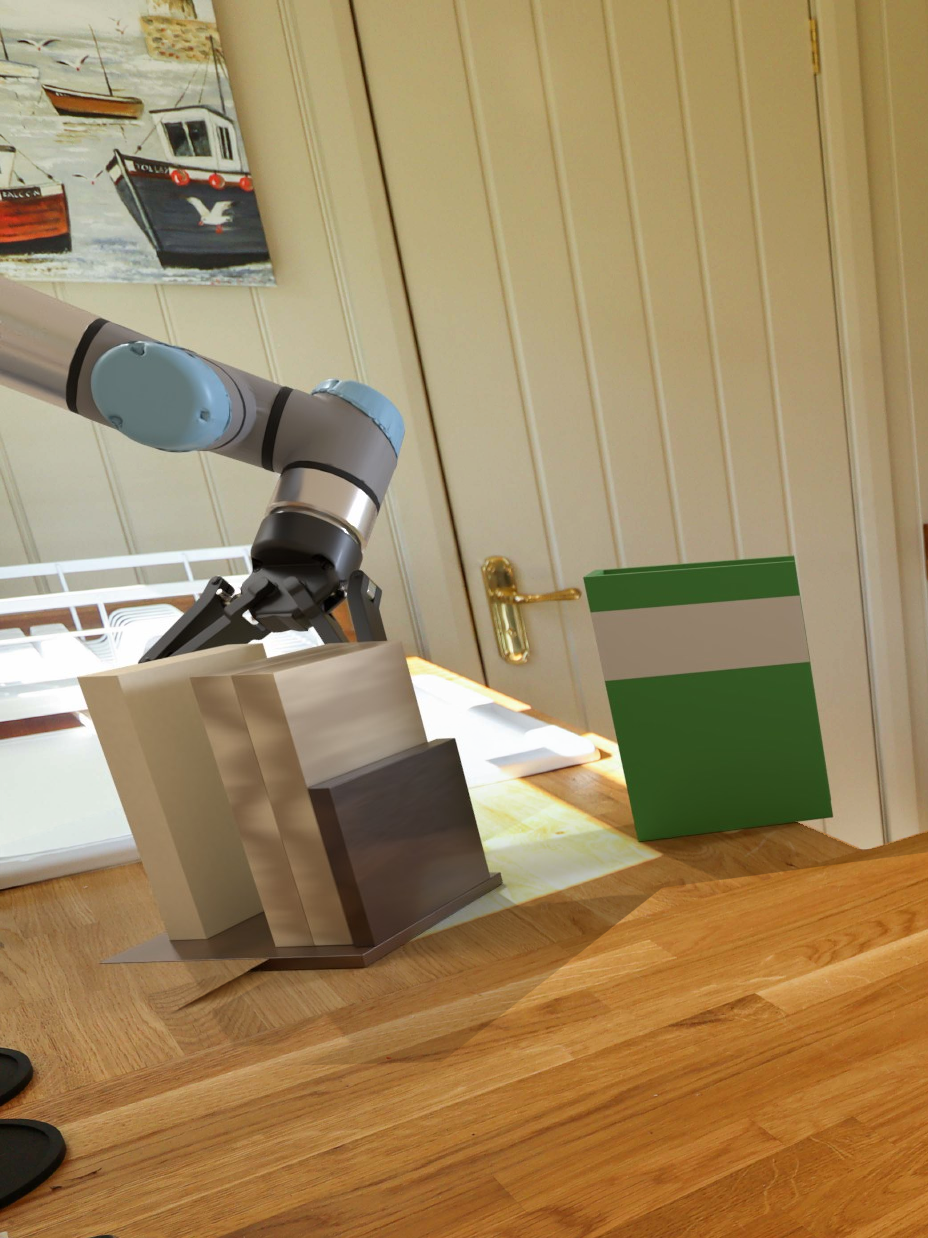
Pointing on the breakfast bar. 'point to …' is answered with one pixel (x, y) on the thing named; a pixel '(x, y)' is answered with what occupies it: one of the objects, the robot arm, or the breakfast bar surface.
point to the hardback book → (711, 694)
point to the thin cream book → (175, 788)
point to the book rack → (334, 810)
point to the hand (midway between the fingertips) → (236, 747)
